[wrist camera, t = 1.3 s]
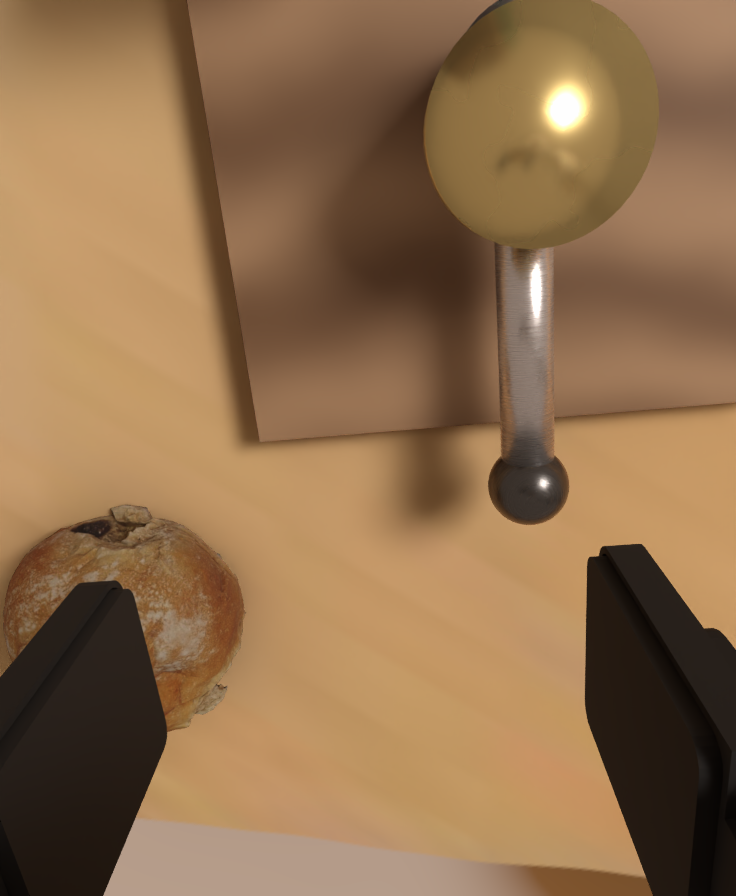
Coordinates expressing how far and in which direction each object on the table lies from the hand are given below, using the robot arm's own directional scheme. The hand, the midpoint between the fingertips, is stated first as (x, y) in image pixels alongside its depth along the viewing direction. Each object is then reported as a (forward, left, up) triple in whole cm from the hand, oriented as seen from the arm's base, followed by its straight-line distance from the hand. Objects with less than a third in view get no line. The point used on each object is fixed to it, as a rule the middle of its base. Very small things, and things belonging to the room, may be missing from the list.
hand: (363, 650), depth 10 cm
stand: (+9, -5, -18) cm, 21 cm away
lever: (+3, -5, -16) cm, 17 cm away
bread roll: (-10, +12, -18) cm, 24 cm away
